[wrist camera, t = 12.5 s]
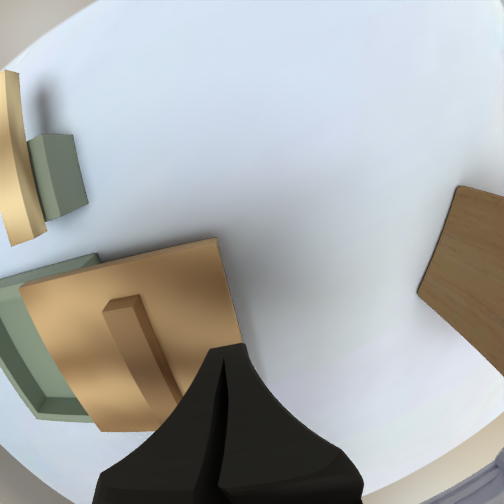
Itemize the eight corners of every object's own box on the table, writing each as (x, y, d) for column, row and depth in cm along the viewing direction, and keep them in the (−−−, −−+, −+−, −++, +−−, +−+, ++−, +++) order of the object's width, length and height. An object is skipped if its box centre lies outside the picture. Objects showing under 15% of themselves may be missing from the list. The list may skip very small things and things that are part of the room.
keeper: (88, 203, 19) (60, 216, 15) (45, 218, 19) (15, 233, 15) (72, 134, 17) (42, 133, 13) (30, 154, 17) (-3, 158, 13)
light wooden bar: (47, 231, 15) (34, 238, 13) (24, 239, 15) (11, 246, 13) (19, 73, 11) (4, 69, 10) (-3, 87, 11) (-18, 85, 10)
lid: (261, 409, 22) (265, 432, 19) (104, 423, 21) (97, 444, 19) (216, 237, 17) (214, 251, 15) (25, 282, 17) (6, 297, 14)
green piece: (159, 397, 24) (154, 421, 22) (46, 400, 24) (36, 419, 21) (96, 252, 20) (79, 268, 17) (-17, 284, 20) (-35, 298, 17)
